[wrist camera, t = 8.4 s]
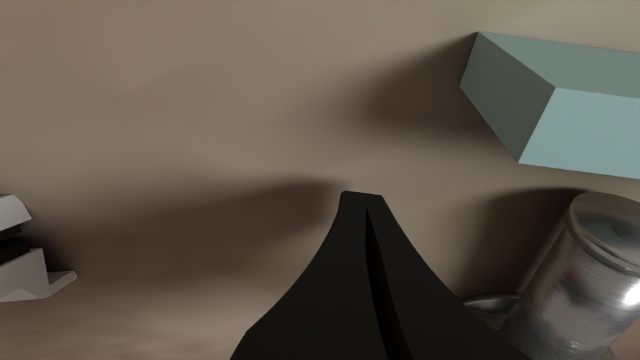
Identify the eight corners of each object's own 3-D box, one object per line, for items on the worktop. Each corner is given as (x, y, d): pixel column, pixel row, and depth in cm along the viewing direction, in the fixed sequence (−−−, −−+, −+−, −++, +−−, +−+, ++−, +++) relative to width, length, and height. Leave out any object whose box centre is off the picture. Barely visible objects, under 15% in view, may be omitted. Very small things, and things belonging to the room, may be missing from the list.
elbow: (533, 394, 20) (567, 477, 17) (408, 381, 20) (420, 461, 17) (702, 203, 12) (820, 292, 9) (500, 181, 12) (552, 262, 9)
